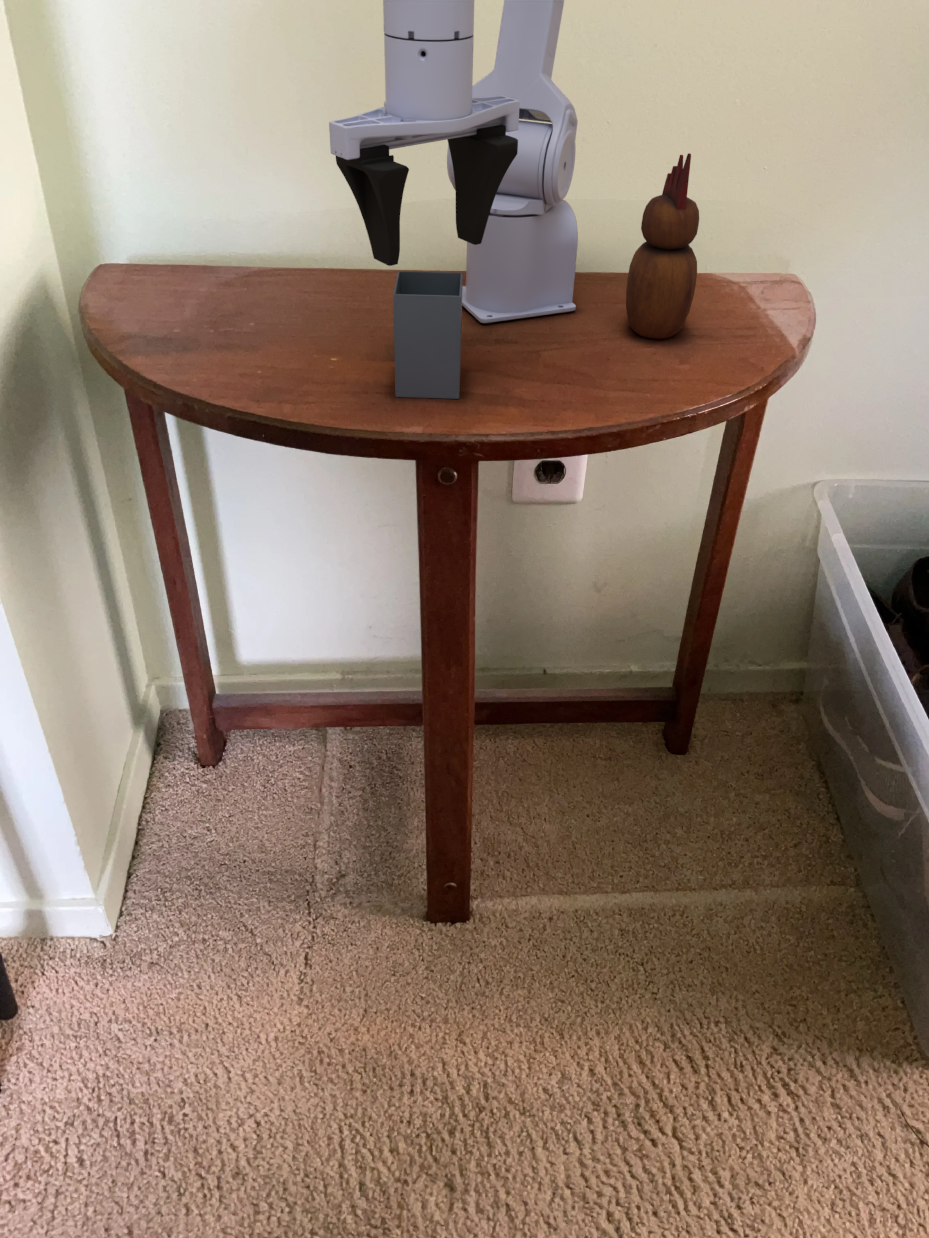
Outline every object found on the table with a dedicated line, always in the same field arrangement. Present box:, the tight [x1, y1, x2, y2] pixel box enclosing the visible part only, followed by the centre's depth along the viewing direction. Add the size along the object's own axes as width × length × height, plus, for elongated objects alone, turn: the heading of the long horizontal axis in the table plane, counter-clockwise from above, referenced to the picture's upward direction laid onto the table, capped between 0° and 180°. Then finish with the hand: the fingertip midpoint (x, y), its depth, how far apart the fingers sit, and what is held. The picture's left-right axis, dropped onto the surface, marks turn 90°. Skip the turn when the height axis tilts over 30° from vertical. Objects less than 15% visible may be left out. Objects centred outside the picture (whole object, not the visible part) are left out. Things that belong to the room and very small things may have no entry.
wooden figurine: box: [625, 153, 700, 340], centre depth 82 cm, size 7×6×15 cm
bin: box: [392, 270, 464, 400], centre depth 75 cm, size 5×5×8 cm
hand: (428, 250), depth 71 cm, fingers open, 7 cm apart
